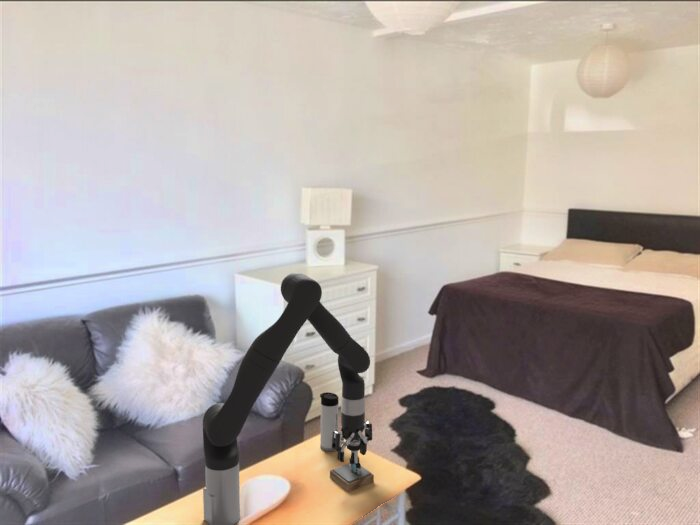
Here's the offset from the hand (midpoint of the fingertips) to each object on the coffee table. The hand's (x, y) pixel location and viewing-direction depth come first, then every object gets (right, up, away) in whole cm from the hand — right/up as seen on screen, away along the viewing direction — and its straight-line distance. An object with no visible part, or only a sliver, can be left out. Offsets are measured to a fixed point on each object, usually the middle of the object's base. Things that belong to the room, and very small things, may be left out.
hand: (352, 457), depth 179 cm
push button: (+1, -5, +1) cm, 5 cm away
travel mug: (-8, -4, +22) cm, 24 cm away
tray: (0, -8, +1) cm, 8 cm away
